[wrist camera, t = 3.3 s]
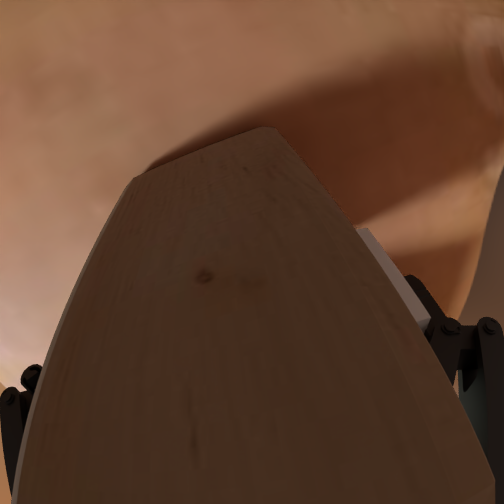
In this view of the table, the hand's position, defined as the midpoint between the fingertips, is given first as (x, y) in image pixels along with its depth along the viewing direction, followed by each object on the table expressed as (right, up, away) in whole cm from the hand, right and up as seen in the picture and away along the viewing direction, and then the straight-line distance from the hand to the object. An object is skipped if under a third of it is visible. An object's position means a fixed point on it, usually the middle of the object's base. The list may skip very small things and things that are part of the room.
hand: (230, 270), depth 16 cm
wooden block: (-1, +4, +5) cm, 6 cm away
